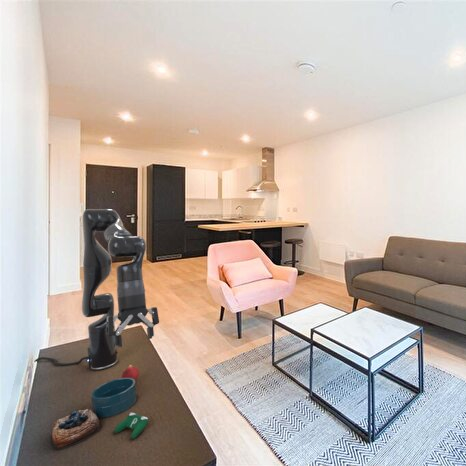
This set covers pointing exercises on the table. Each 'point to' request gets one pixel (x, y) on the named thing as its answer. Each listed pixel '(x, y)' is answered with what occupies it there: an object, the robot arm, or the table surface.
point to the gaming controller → (133, 424)
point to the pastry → (74, 428)
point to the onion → (131, 373)
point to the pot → (114, 397)
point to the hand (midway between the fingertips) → (135, 342)
